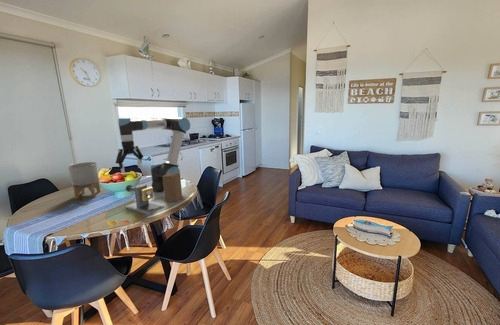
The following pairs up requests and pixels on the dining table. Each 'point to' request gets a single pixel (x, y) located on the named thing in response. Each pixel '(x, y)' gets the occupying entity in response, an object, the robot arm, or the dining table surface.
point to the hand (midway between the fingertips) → (131, 170)
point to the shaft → (131, 188)
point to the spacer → (145, 193)
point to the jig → (143, 202)
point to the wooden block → (172, 186)
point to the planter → (84, 177)
